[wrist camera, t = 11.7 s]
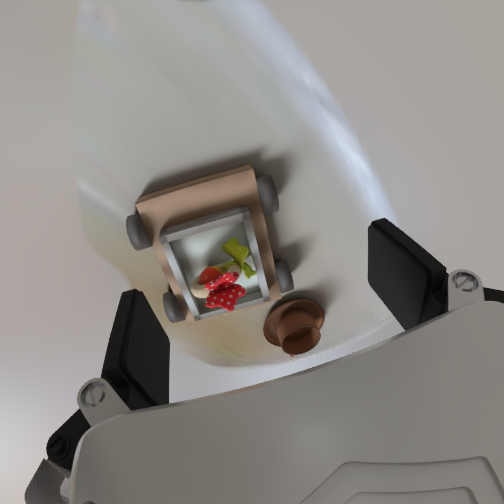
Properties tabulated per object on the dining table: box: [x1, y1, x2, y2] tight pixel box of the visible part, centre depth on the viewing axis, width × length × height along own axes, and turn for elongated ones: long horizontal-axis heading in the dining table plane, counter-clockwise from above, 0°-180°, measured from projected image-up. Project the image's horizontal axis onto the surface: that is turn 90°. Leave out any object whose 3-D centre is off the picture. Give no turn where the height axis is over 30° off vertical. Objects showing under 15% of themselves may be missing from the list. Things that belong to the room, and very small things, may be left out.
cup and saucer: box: [263, 299, 324, 357], centre depth 52 cm, size 12×12×6 cm
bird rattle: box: [190, 237, 257, 311], centre depth 37 cm, size 6×11×9 cm
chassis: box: [126, 164, 294, 324], centre depth 42 cm, size 22×20×6 cm
